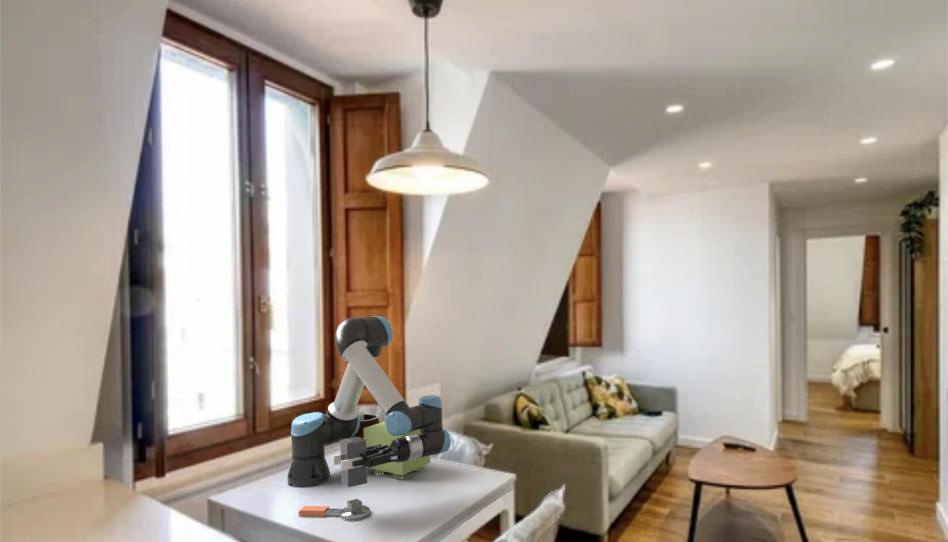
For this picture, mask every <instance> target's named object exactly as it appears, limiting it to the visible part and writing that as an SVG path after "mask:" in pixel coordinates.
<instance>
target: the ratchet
mask: <svg viewBox="0 0 948 542" xmlns="http://www.w3.org/2000/svg"><path fill="white" fill-rule="evenodd" d="M346 503H347V504H346V505H347V506H346V507H344V508H330V506H329V505H304V506H303V507H302V508H300V510H299V511H298V513H297V514H298V516H299V515H300V516H299V517H314V516H318V517H319V518H320V517H321V518H323V517H339V518H340V517H341V518H342V519H341V518H340V519H341V520H343V519H345V520H344V521H346V520H355V521H360V520H363V519H365V517H366V518H367V517H369V516H370V514H371V509H370V507H369V506H367V505H365V504H364V505H363V501H361V500H360V499H359V498H355V499H351V500H348V501H346ZM359 519H360V520H359Z"/></svg>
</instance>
